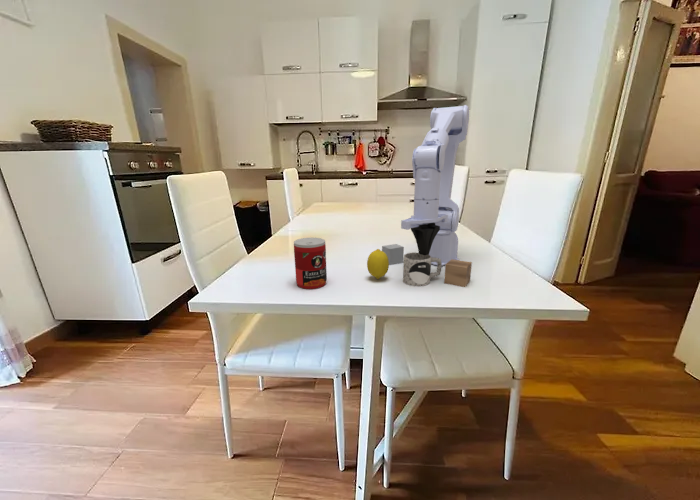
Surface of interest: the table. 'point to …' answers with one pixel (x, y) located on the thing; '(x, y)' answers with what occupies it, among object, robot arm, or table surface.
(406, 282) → the mug
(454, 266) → the walnut block
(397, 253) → the grey block
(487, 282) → the table surface
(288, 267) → the table surface
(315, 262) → the canned food
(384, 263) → the lemon
